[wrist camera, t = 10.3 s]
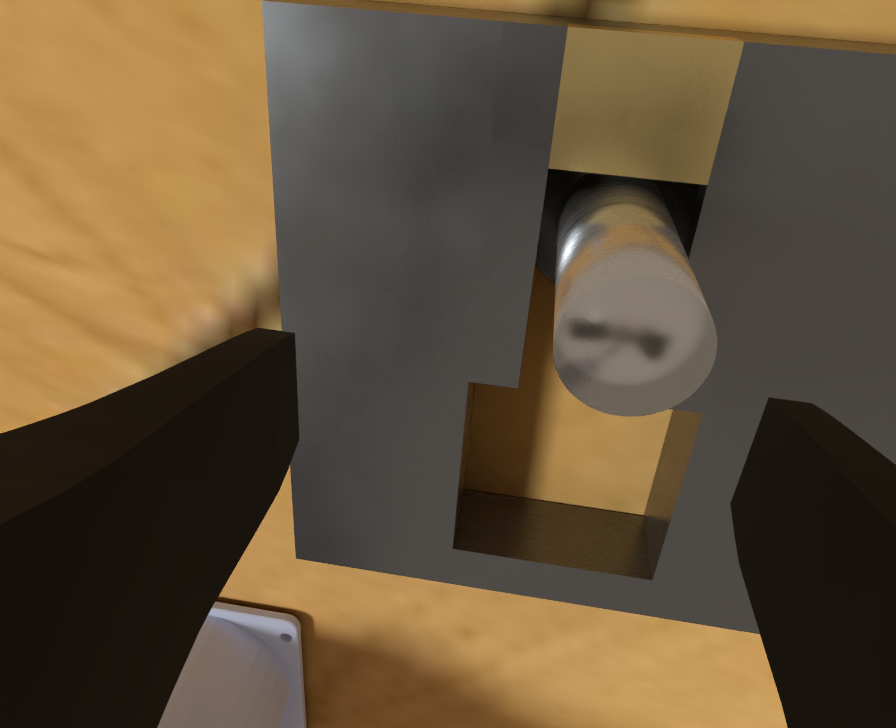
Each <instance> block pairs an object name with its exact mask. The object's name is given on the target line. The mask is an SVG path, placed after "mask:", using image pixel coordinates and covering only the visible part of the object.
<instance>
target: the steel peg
mask: <svg viewBox="0 0 896 728" xmlns="http://www.w3.org/2000/svg"><path fill="white" fill-rule="evenodd" d="M698 187H699V184H693V183H683V182H674V181H664V180H654V179H645V178H635V177H626V176H616V175H607V174H597V173H588V172H578V171H568V170H559V169H549V168H548V175H547V182H546V189H545V196H544V204H543V211H542V218H541V225H540V233H539V240H538V247H537V254H536V262H535V264H536V265H537V267H538V268H539V269H540V271H541V272H542V273H543V274H544V275H545V276H546V277H547V278H548V279H549V280H550V281H552V282H553V283H555V309H554V335H553V358H554V363H555V367H556V370H557V372H558V375H559V377H560V379H561V380H562V382H563V384H564V385H565V386H566V388H567V389H568V390H569V391H570V392H571V393H572V394H573V395H574V396H575V397H576V398H577V399H579V400H580V401H582V402H583V403H584V404H586V405H588V406H590V407H592V408H594V409H596V410H599V411H601V412H604V413H608V414H612V415H619V416H644V415H650V414H654V413H658V412H662V411H664V410H667V409H669V408H672V407H674V406H675V405H677V404H679V403H681V402H682V401H684V400H685V399H687V398H688V397H690V396H691V395H692V394H693V393H694V392H695V391H696V390H697V389H698V388H699V387H700V386H701V385H702V384H703V382H704V381H705V379H706V378H707V376H708V375H709V373H710V371H711V369H712V367H713V364H714V361H715V358H716V352H717V333H716V328H715V325H714V322H713V319H712V316H711V314H710V311H709V309H708V307H707V304H706V302H705V299H704V297H703V294H702V292H701V289H700V287H699V284H698V282H697V279H696V277H695V274H694V272H693V270H692V267H691V265H690V262H689V260H688V257H687V255H686V252H685V250H684V243H685V239H686V235H687V231H688V227H689V223H690V219H691V215H692V211H693V207H694V203H695V199H696V195H697V191H698Z"/></svg>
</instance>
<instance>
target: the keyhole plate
mask: <svg viewBox="0 0 896 728" xmlns="http://www.w3.org/2000/svg"><path fill="white" fill-rule="evenodd" d="M262 11H263V27H264V44H265V60H266V76H267V93H268V109H269V125H270V142H271V158H272V174H273V191H274V207H275V223H276V240H277V256H278V272H279V289H280V305H281V322H282V331H284V332H292V333H295V345H296V368H297V392H298V415H299V442H298V445H297V447H296V450H295V452H294V455H293V458H292V460H291V463H290V469H291V485H292V501H293V518H294V534H295V550H296V558H297V559H303V560H309V561H315V562H321V563H327V564H333V565H339V566H346V567H352V568H358V569H364V570H370V571H376V572H382V573H389V574H395V575H401V576H407V577H413V578H419V579H425V580H431V581H438V582H444V583H450V584H456V585H462V586H468V587H474V588H481V589H487V590H493V591H499V592H505V593H511V594H517V595H523V596H530V597H536V598H542V599H548V600H554V601H560V602H566V603H572V604H579V605H585V606H591V607H597V608H603V609H609V610H615V611H622V612H628V613H634V614H640V615H646V616H652V617H658V618H664V619H671V620H677V621H683V622H689V623H695V624H701V625H707V626H714V627H720V628H726V629H732V630H738V631H744V632H750V633H756V634H760V632H759V629H758V626H757V622H756V619H755V616H754V613H753V609H752V606H751V603H750V599H749V596H748V593H747V589H746V586H745V582H744V579H743V576H742V572H741V569H740V565H739V560H738V554H737V548H736V542H735V536H734V529H733V521H732V513H731V506H730V503H731V500H732V497H733V495H734V492H735V489H736V486H737V484H738V481H739V478H740V475H741V473H742V470H743V467H744V464H745V461H746V459H747V456H748V453H749V450H750V448H751V445H752V442H753V439H754V437H755V434H756V431H757V428H758V426H759V423H760V420H761V417H762V414H763V412H764V409H765V406H766V403H767V401H768V398H769V397H771V398H778V399H786V400H793V401H800V402H808V403H813V404H814V405H816V406H817V407H819V408H821V409H822V410H824V411H825V412H827V413H828V414H830V415H831V416H833V417H834V418H835V419H837V420H838V421H839V422H841V423H842V424H843V425H845V426H846V427H847V428H849V429H850V430H851V431H853V432H854V433H855V434H857V435H858V436H859V437H861V438H862V439H863V440H864V441H866V442H867V443H868V444H870V445H871V446H872V447H873V448H875V449H876V450H877V451H879V452H880V453H881V454H882V455H884V456H885V457H886V458H888V459H889V460H890V461H892V462H893V463H894V464H895V465H896V45H894V44H882V43H870V42H858V41H846V40H834V39H822V38H810V37H798V36H786V35H774V34H763V33H751V32H739V31H727V30H715V29H703V28H691V27H679V26H667V25H655V24H643V23H632V22H620V21H608V20H596V19H584V18H572V17H560V16H548V15H536V14H524V13H512V12H501V11H489V10H477V9H465V8H453V7H441V6H429V5H417V4H405V3H393V2H381V1H369V0H263V1H262ZM548 168H549V169H559V170H568V171H578V172H588V173H597V174H607V175H616V176H626V177H635V178H645V179H654V180H664V181H674V182H683V183H693V184H699V187H698V191H697V195H696V199H695V203H694V207H693V211H692V215H691V219H690V223H689V227H688V231H687V235H686V239H685V243H684V250H685V252H686V255H687V257H688V260H689V262H690V265H691V267H692V270H693V272H694V274H695V277H696V279H697V282H698V284H699V287H700V289H701V292H702V294H703V297H704V299H705V302H706V304H707V307H708V309H709V311H710V314H711V316H712V319H713V322H714V325H715V328H716V333H717V352H716V358H715V361H714V364H713V367H712V369H711V371H710V373H709V375H708V376H707V378H706V379H705V381H704V382H703V384H702V385H701V386H700V387H699V388H698V389H697V390H696V391H695V392H694V393H693V394H692V395H691V396H690V397H688V398H687V399H685V400H684V401H682V402H681V403H679V404H677V405H675V406H674V407H672V408H669V409H673V412H672V416H671V419H670V423H669V426H668V430H667V434H666V437H665V441H664V445H663V448H662V452H661V455H660V459H659V463H658V466H657V470H656V474H655V477H654V481H653V484H652V488H651V492H650V495H649V499H648V503H647V506H646V510H645V513H644V516H639V515H632V514H625V513H618V512H612V511H605V510H598V509H592V508H585V507H578V506H572V505H565V504H558V503H552V502H545V501H538V500H532V499H525V498H518V497H512V496H505V495H498V494H492V493H485V492H478V491H472V490H465V489H464V487H465V477H466V467H467V457H468V447H469V437H470V427H471V417H472V408H473V398H474V388H475V383H481V384H488V385H495V386H503V387H510V388H518V385H519V377H520V370H521V363H522V356H523V348H524V341H525V334H526V327H527V319H528V312H529V305H530V298H531V291H532V283H533V276H534V269H535V262H536V254H537V247H538V240H539V233H540V225H541V218H542V211H543V204H544V196H545V189H546V182H547V175H548Z"/></svg>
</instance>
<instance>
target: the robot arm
mask: <svg viewBox="0 0 896 728" xmlns="http://www.w3.org/2000/svg"><path fill="white" fill-rule="evenodd" d="M298 442H299V415H298V392H297V368H296V345H295V333H292V332H284V331H277V330H270V329H262V328H256V329H253V330H250V331H247V332H245V333H243V334H240V335H238V336H236V337H233V338H231V339H229V340H227V341H225V342H223V343H221V344H218V345H216V346H214V347H212V348H210V349H208V350H206V351H204V352H202V353H200V354H198V355H196V356H194V357H191V358H189V359H187V360H185V361H183V362H181V363H179V364H177V365H175V366H173V367H170V368H168V369H166V370H164V371H162V372H160V373H158V374H156V375H154V376H151V377H149V378H147V379H144V380H142V381H140V382H137V383H135V384H133V385H130V386H128V387H126V388H123V389H121V390H119V391H116V392H114V393H112V394H109V395H107V396H105V397H102V398H100V399H98V400H95V401H93V402H91V403H88V404H85V405H83V406H80V407H78V408H75V409H72V410H70V411H67V412H64V413H61V414H59V415H56V416H53V417H50V418H47V419H44V420H41V421H38V422H35V423H32V424H29V425H26V426H23V427H20V428H17V429H14V430H11V431H7V432H4V433H1V434H0V728H307V727H306V710H305V694H304V677H303V661H302V645H301V628H300V622H299V620H298V619H297V618H296V617H294V616H293V615H290V614H286V613H280V612H274V611H268V610H262V609H257V608H251V607H245V606H239V605H233V604H227V603H222V602H216V599H217V598H218V596H219V594H220V593H221V591H222V589H223V587H224V586H225V584H226V582H227V581H228V579H229V577H230V575H231V574H232V572H233V570H234V569H235V567H236V565H237V563H238V562H239V560H240V558H241V556H242V555H243V553H244V551H245V550H246V548H247V546H248V544H249V543H250V541H251V539H252V538H253V536H254V534H255V532H256V531H257V529H258V527H259V525H260V524H261V522H262V520H263V518H264V517H265V515H266V513H267V511H268V510H269V508H270V506H271V504H272V503H273V501H274V499H275V497H276V495H277V494H278V492H279V490H280V487H281V485H282V482H283V480H284V478H285V475H286V473H287V470H288V468H289V465H290V463H291V460H292V458H293V455H294V452H295V450H296V447H297V445H298ZM730 506H731V513H732V521H733V529H734V536H735V542H736V548H737V554H738V560H739V565H740V569H741V572H742V576H743V579H744V582H745V586H746V589H747V593H748V596H749V599H750V603H751V606H752V609H753V613H754V616H755V619H756V622H757V626H758V629H759V632H760V635H761V638H762V642H763V645H764V648H765V651H766V655H767V658H768V661H769V664H770V668H771V671H772V674H773V677H774V681H775V684H776V687H777V690H778V694H779V697H780V700H781V703H782V707H783V711H784V715H785V719H786V723H787V726H788V728H896V465H895V464H894V463H893V462H892V461H890V460H889V459H888V458H886V457H885V456H884V455H882V454H881V453H880V452H879V451H877V450H876V449H875V448H873V447H872V446H871V445H870V444H868V443H867V442H866V441H864V440H863V439H862V438H861V437H859V436H858V435H857V434H855V433H854V432H853V431H851V430H850V429H849V428H847V427H846V426H845V425H843V424H842V423H841V422H839V421H838V420H837V419H835V418H834V417H833V416H831V415H830V414H828V413H827V412H825V411H824V410H822V409H821V408H819V407H817V406H816V405H814V404H813V403H808V402H800V401H793V400H786V399H778V398H771V397H769V398H768V401H767V403H766V406H765V409H764V412H763V414H762V417H761V420H760V423H759V426H758V428H757V431H756V434H755V437H754V439H753V442H752V445H751V448H750V450H749V453H748V456H747V459H746V461H745V464H744V467H743V470H742V473H741V475H740V478H739V481H738V484H737V486H736V489H735V492H734V495H733V497H732V500H731V503H730Z"/></svg>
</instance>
